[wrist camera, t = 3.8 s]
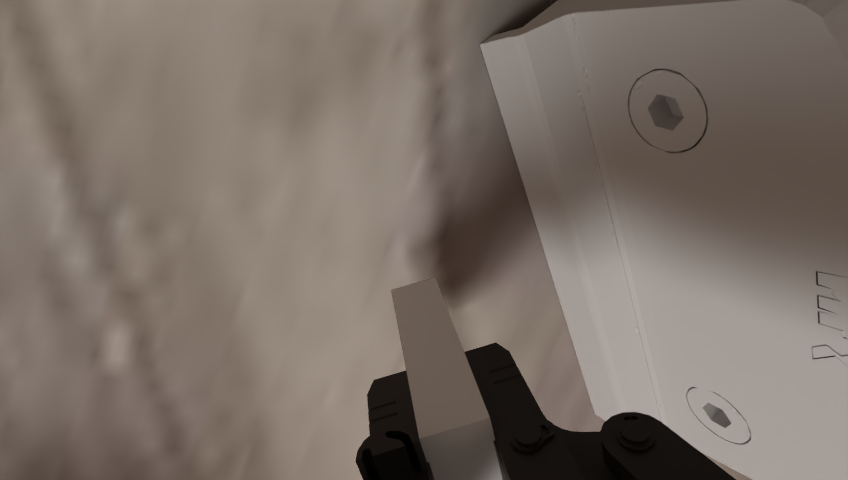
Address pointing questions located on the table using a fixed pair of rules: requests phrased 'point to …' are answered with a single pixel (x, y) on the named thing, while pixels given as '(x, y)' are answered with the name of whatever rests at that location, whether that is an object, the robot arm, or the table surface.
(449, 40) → the table surface
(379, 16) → the table surface
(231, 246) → the table surface
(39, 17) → the table surface
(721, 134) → the grey half-round casing
